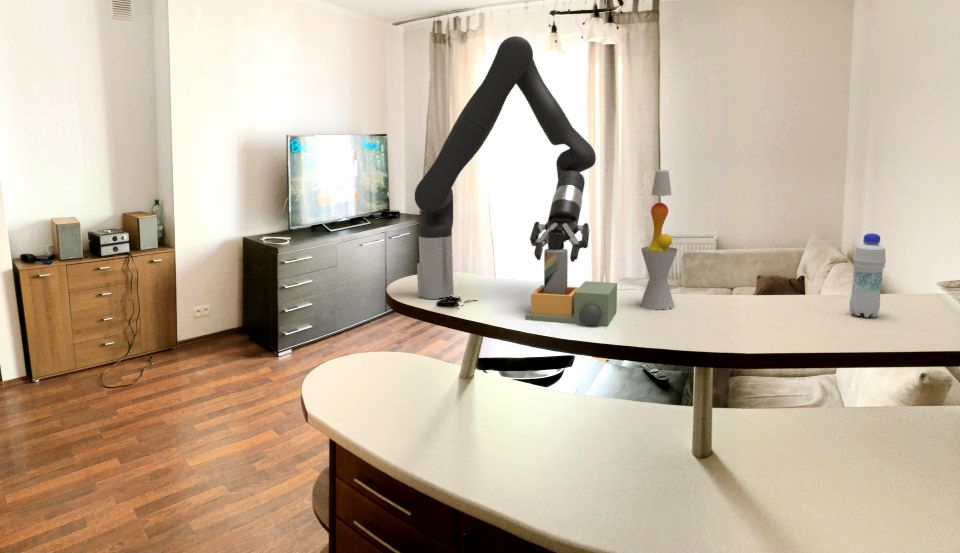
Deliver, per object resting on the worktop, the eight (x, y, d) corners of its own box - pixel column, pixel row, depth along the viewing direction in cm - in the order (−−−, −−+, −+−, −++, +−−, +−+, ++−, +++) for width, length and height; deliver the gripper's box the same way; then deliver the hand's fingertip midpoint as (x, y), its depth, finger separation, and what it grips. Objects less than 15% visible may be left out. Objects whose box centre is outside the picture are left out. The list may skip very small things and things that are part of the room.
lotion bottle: (565, 306, 166) (565, 228, 163) (568, 312, 161) (569, 231, 157) (542, 307, 166) (543, 228, 162) (545, 312, 161) (545, 231, 157)
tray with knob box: (523, 321, 158) (523, 290, 157) (540, 305, 173) (541, 277, 171) (606, 327, 151) (607, 295, 150) (617, 310, 166) (618, 281, 165)
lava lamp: (632, 306, 171) (636, 170, 164) (650, 299, 177) (655, 168, 170) (663, 311, 165) (669, 171, 158) (681, 305, 171) (687, 169, 164)
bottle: (874, 312, 160) (883, 231, 156) (883, 319, 154) (892, 235, 150) (844, 311, 162) (852, 231, 158) (851, 318, 156) (860, 235, 152)
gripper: (536, 197, 167) (523, 248, 159) (591, 198, 162) (581, 251, 154) (541, 215, 173) (529, 266, 165) (595, 217, 168) (586, 269, 160)
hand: (554, 259), depth 159 cm, fingers open, 8 cm apart
